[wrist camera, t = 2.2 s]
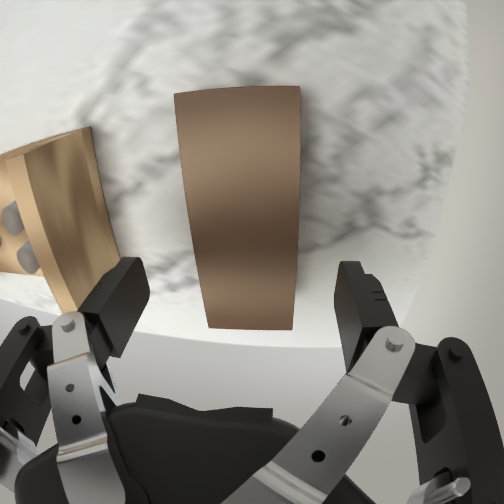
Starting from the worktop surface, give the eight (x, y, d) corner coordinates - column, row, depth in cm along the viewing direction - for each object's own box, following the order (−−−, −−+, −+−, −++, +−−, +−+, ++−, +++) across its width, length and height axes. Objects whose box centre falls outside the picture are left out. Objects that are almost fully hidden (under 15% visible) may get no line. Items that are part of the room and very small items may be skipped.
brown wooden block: (197, 90, 13) (173, 93, 10) (293, 86, 13) (300, 86, 10) (218, 286, 20) (208, 328, 17) (290, 287, 20) (292, 330, 17)
